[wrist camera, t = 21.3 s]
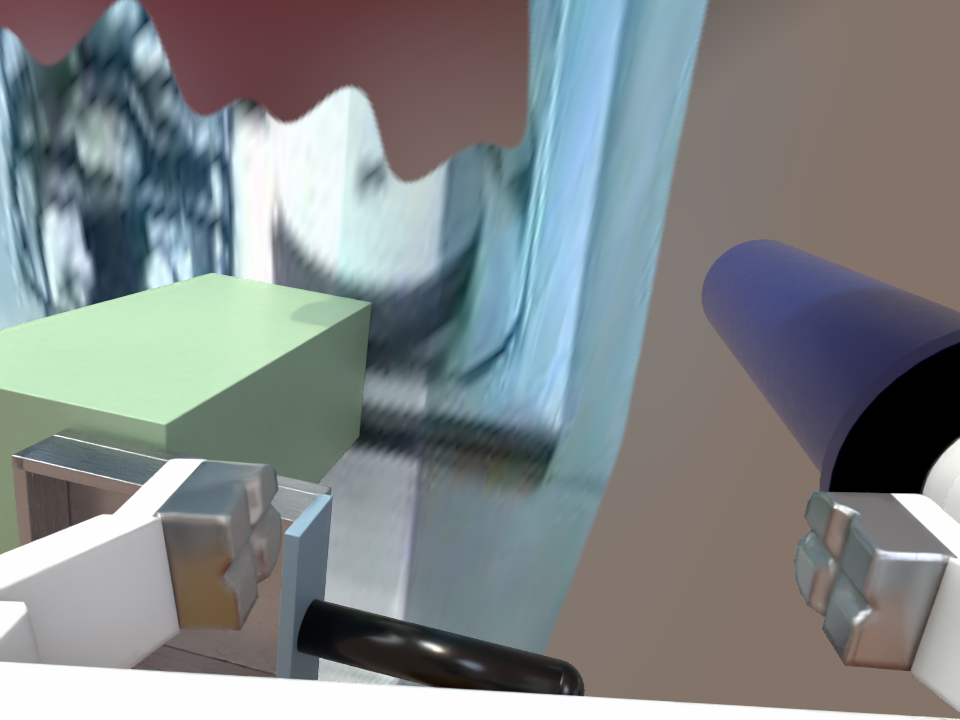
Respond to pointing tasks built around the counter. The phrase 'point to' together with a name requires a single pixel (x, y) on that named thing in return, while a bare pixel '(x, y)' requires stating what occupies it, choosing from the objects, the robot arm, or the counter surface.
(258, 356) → the sage green block
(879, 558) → the robot arm
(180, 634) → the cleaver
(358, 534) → the counter surface
